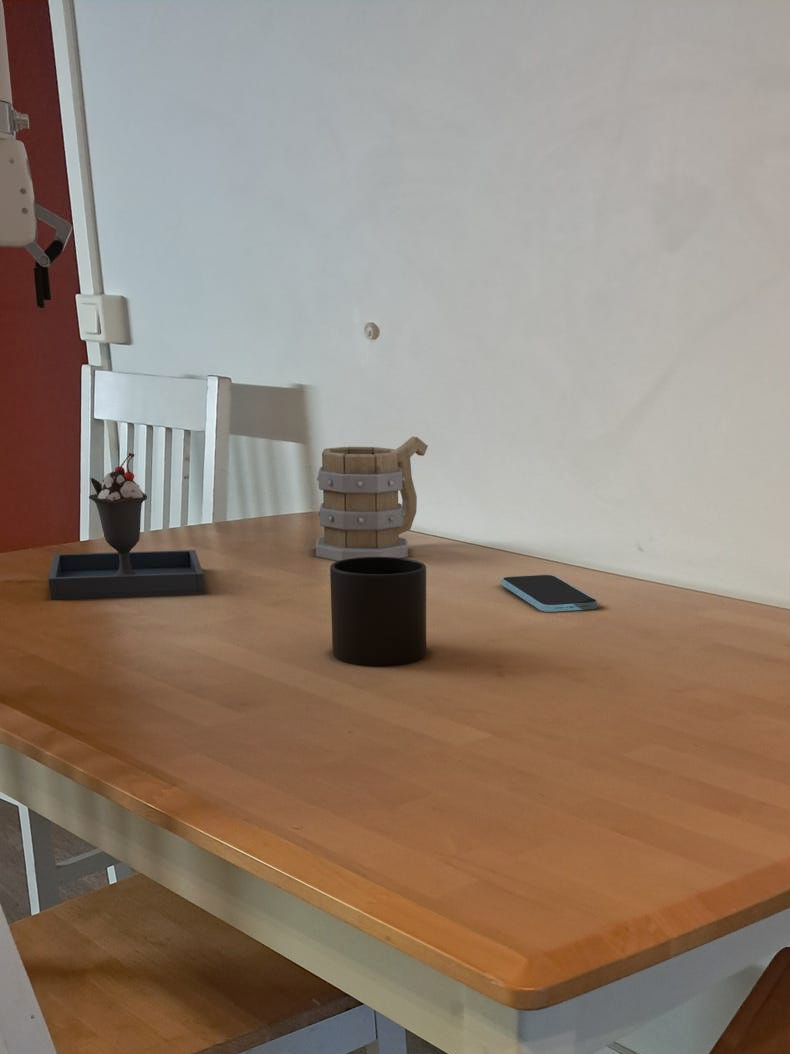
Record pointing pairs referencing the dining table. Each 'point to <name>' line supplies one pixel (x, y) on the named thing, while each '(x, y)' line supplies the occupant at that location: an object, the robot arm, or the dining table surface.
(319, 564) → the dining table surface
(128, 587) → the tray
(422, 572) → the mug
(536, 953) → the dining table surface
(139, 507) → the sundae
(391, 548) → the tankard
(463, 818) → the dining table surface
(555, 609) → the smartphone
